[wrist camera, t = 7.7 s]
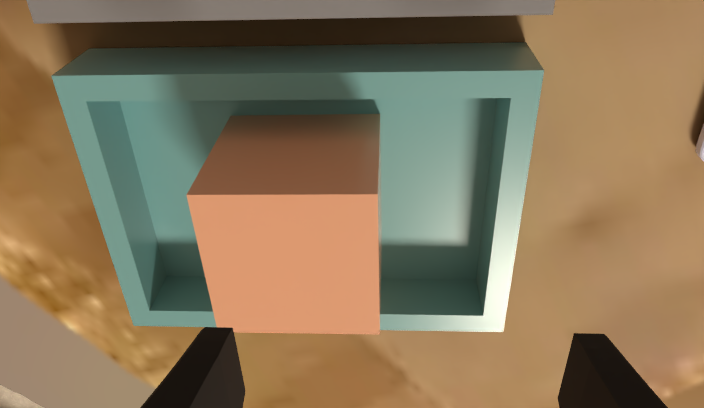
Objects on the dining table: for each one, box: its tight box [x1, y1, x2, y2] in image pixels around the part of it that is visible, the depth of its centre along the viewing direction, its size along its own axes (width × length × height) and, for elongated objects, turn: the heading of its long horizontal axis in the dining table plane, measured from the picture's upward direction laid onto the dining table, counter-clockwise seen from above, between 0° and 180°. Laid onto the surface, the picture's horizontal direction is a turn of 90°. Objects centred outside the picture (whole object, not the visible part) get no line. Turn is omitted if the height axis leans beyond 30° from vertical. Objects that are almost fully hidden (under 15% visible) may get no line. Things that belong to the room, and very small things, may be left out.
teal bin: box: [52, 42, 544, 332], centre depth 20 cm, size 14×10×2 cm
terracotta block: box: [187, 114, 382, 334], centre depth 18 cm, size 5×5×5 cm
